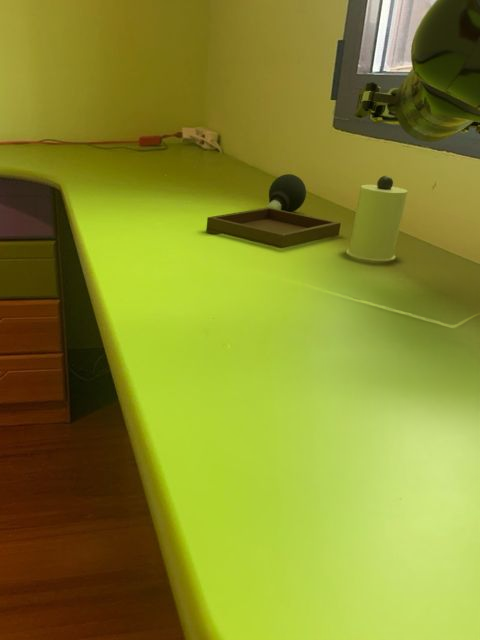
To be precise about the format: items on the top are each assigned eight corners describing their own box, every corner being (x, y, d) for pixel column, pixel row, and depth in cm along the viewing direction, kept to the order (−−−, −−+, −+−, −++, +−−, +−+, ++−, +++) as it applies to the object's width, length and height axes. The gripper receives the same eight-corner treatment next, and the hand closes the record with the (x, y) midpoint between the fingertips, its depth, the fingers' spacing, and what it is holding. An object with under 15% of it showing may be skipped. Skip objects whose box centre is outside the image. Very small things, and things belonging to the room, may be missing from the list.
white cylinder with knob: (360, 249, 99) (375, 170, 94) (402, 259, 95) (421, 177, 90) (336, 256, 95) (351, 173, 90) (380, 266, 91) (398, 181, 86)
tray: (266, 221, 114) (268, 207, 113) (338, 237, 106) (341, 222, 105) (205, 232, 103) (207, 217, 102) (280, 251, 96) (283, 235, 94)
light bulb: (255, 189, 115) (282, 162, 120) (249, 221, 120) (276, 194, 125) (289, 203, 113) (315, 175, 118) (282, 235, 118) (308, 207, 123)
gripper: (535, 58, 62) (487, 92, 78) (376, 39, 64) (360, 76, 80) (510, 146, 65) (469, 162, 80) (357, 126, 67) (345, 145, 82)
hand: (415, 119), depth 80 cm, fingers open, 8 cm apart
